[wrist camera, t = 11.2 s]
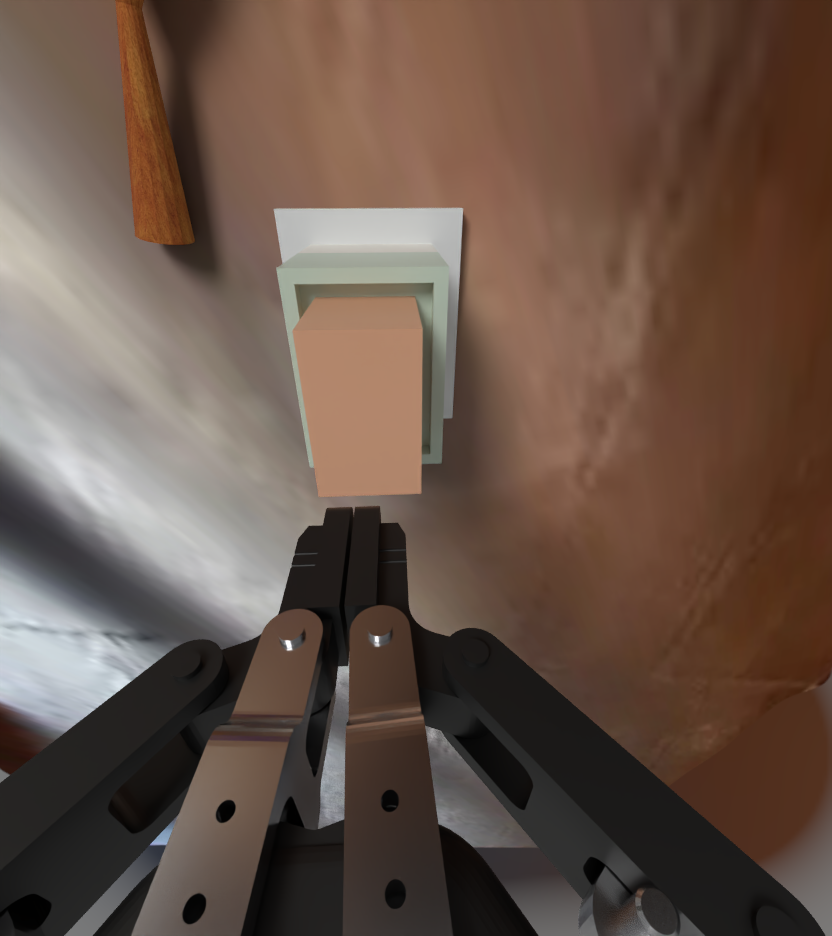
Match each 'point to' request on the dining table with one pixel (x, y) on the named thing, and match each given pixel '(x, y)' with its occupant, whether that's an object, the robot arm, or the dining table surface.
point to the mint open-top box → (380, 284)
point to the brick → (363, 393)
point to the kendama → (149, 138)
